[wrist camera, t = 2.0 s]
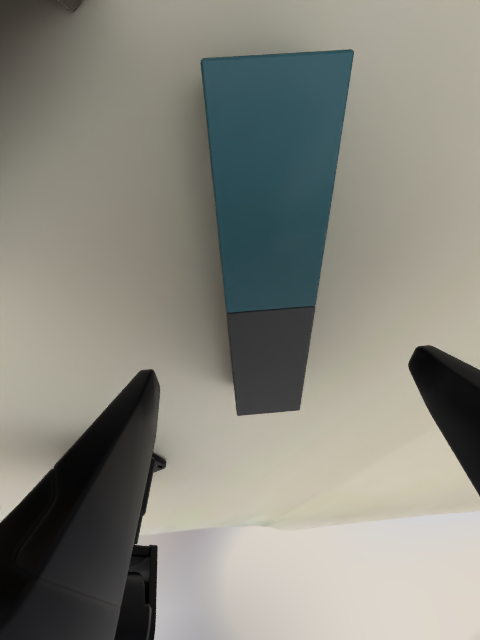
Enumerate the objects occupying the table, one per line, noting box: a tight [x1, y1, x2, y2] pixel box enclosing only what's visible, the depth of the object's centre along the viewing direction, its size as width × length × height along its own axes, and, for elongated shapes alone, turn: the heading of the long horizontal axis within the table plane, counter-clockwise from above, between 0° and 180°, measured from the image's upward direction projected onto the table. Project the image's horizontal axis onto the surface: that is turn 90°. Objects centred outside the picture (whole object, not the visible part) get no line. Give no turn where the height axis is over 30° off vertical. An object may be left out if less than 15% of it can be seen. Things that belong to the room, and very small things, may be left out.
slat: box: [201, 49, 354, 416], centre depth 12 cm, size 16×4×2 cm, turn 3°
